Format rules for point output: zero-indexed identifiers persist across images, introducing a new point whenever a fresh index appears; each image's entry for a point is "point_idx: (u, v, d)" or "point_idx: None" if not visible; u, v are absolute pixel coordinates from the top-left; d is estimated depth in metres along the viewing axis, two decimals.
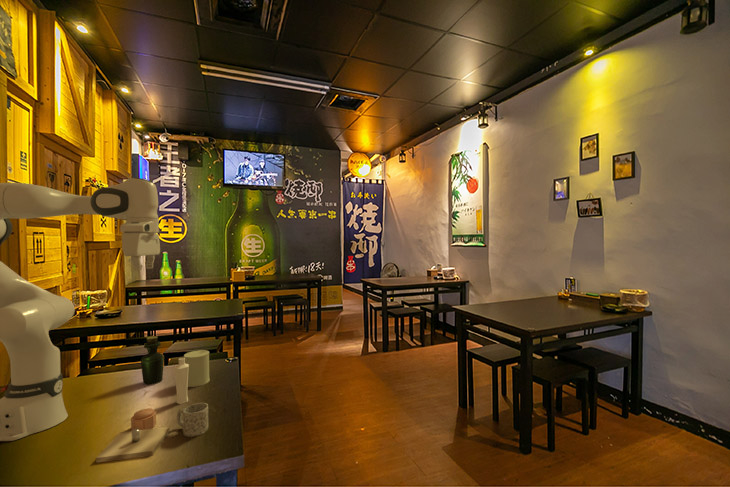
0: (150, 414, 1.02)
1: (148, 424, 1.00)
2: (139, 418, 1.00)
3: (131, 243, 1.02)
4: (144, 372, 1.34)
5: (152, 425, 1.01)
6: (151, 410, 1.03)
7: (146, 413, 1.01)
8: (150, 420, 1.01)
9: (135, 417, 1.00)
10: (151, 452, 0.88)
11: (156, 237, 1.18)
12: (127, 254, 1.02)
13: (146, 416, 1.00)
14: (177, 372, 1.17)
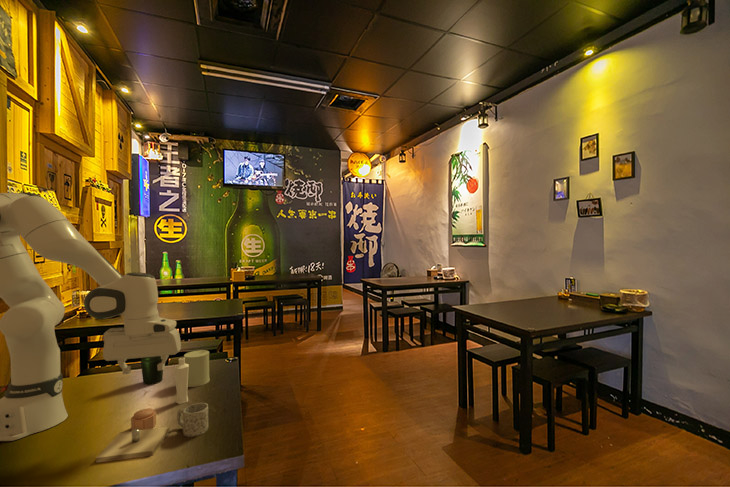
0: (150, 414, 1.02)
1: (148, 424, 1.00)
2: (139, 418, 1.00)
3: (178, 340, 1.05)
4: (144, 372, 1.34)
5: (152, 425, 1.01)
6: (151, 410, 1.03)
7: (146, 413, 1.01)
8: (150, 420, 1.01)
9: (135, 417, 1.00)
10: (151, 452, 0.88)
11: None
12: (177, 351, 1.03)
13: (146, 416, 1.00)
14: (177, 372, 1.17)
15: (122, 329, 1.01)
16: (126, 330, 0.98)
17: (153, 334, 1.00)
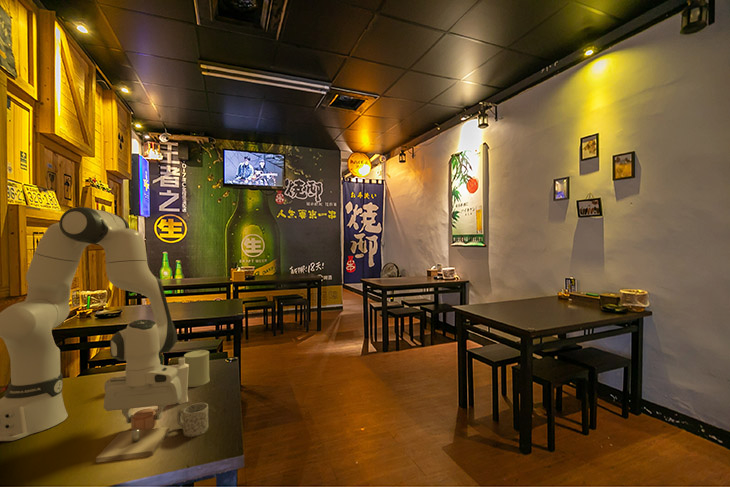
0: (150, 414, 1.02)
1: (148, 424, 1.00)
2: (139, 418, 1.00)
3: (179, 388, 1.05)
4: None
5: (152, 425, 1.01)
6: (151, 410, 1.03)
7: (146, 413, 1.01)
8: (150, 420, 1.01)
9: (135, 417, 1.00)
10: (151, 452, 0.88)
11: None
12: (178, 400, 1.04)
13: (146, 416, 1.00)
14: (177, 372, 1.17)
15: (123, 378, 1.01)
16: (127, 381, 0.98)
17: (154, 384, 1.00)
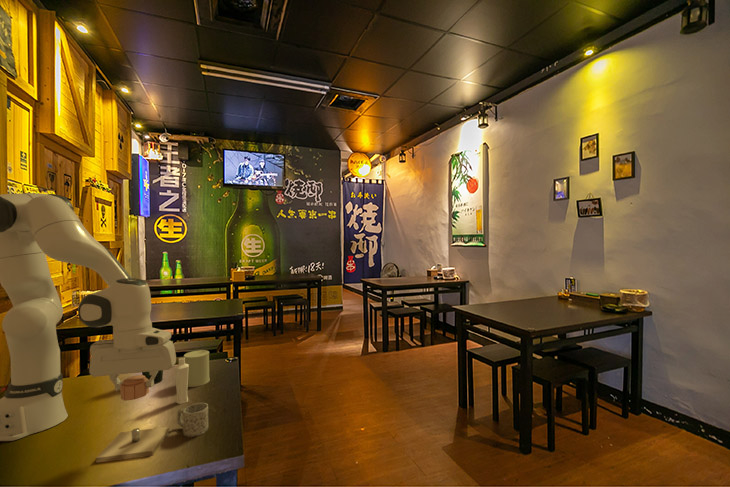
0: (141, 380, 0.92)
1: (139, 391, 0.91)
2: (129, 384, 0.90)
3: (173, 353, 0.95)
4: (144, 372, 1.34)
5: (144, 392, 0.92)
6: (143, 377, 0.94)
7: (137, 379, 0.92)
8: (142, 387, 0.91)
9: (125, 383, 0.90)
10: (151, 452, 0.88)
11: None
12: (172, 366, 0.94)
13: (137, 382, 0.91)
14: (177, 372, 1.17)
15: (110, 341, 0.91)
16: (115, 343, 0.89)
17: (145, 347, 0.91)
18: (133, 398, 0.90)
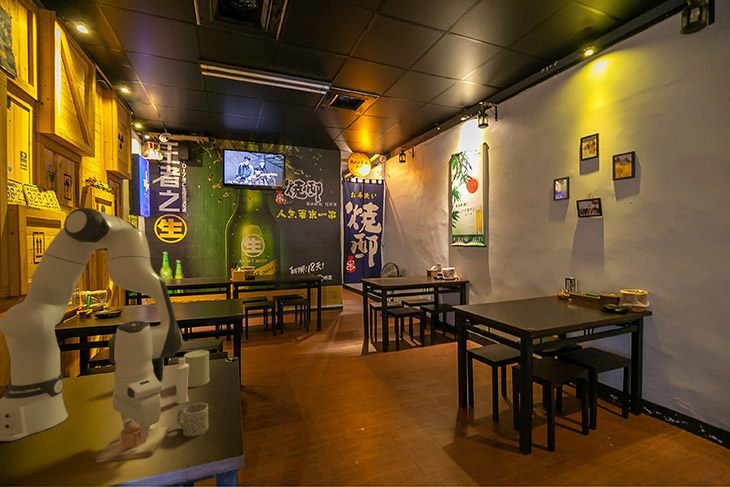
0: (134, 430, 0.91)
1: (130, 441, 0.90)
2: (124, 431, 0.91)
3: (154, 410, 0.88)
4: None
5: (134, 443, 0.90)
6: None
7: (133, 427, 0.91)
8: (132, 437, 0.90)
9: None
10: (151, 452, 0.88)
11: None
12: (149, 424, 0.87)
13: (129, 431, 0.90)
14: (177, 372, 1.17)
15: None
16: None
17: (129, 397, 0.88)
18: (124, 446, 0.90)
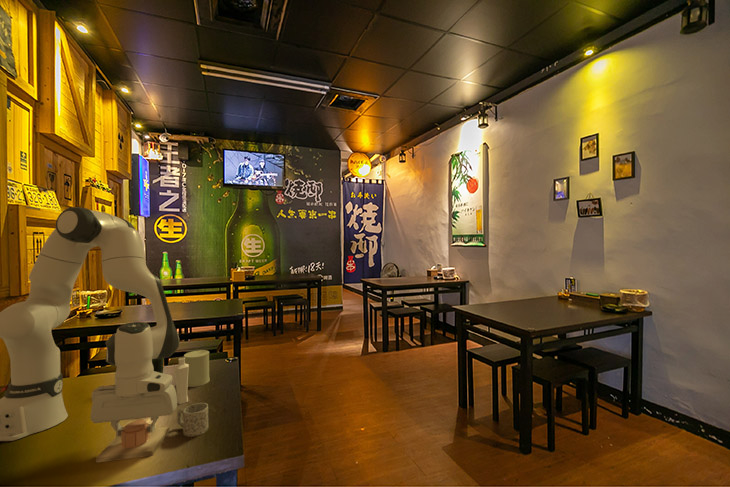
0: (135, 430, 0.91)
1: (130, 441, 0.90)
2: (124, 431, 0.91)
3: (174, 397, 0.95)
4: None
5: (134, 443, 0.90)
6: (141, 425, 0.92)
7: (133, 427, 0.91)
8: (132, 437, 0.90)
9: None
10: (151, 452, 0.88)
11: None
12: (173, 411, 0.94)
13: (129, 431, 0.90)
14: (177, 372, 1.17)
15: (112, 387, 0.91)
16: (117, 390, 0.89)
17: (147, 394, 0.91)
18: (124, 446, 0.90)
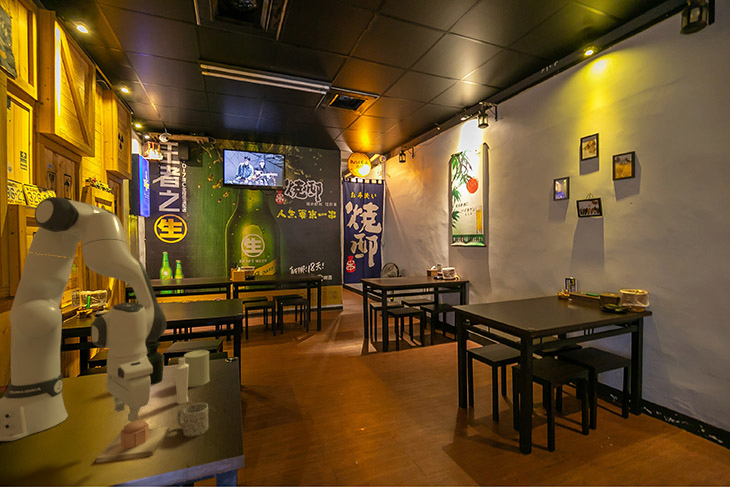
0: (126, 431, 0.90)
1: (122, 440, 0.90)
2: None
3: (143, 392, 0.86)
4: None
5: (124, 444, 0.90)
6: (134, 428, 0.91)
7: (128, 427, 0.91)
8: (123, 437, 0.90)
9: None
10: (151, 452, 0.88)
11: None
12: (137, 406, 0.85)
13: (124, 430, 0.91)
14: (177, 372, 1.17)
15: None
16: None
17: (120, 378, 0.87)
18: (121, 443, 0.91)
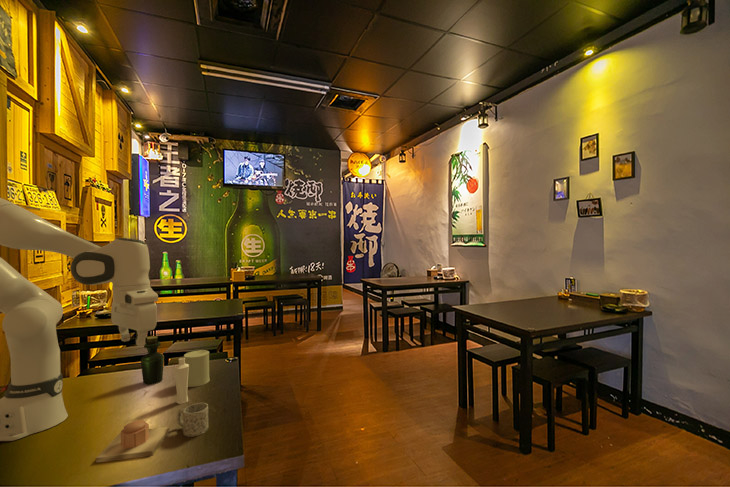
0: (126, 431, 0.90)
1: (122, 440, 0.90)
2: None
3: (150, 316, 0.91)
4: (144, 372, 1.34)
5: (124, 444, 0.90)
6: (134, 428, 0.91)
7: (128, 427, 0.91)
8: (123, 437, 0.90)
9: None
10: (151, 452, 0.88)
11: None
12: (146, 329, 0.90)
13: (124, 430, 0.91)
14: (177, 372, 1.17)
15: None
16: None
17: (127, 305, 0.92)
18: (121, 443, 0.91)
